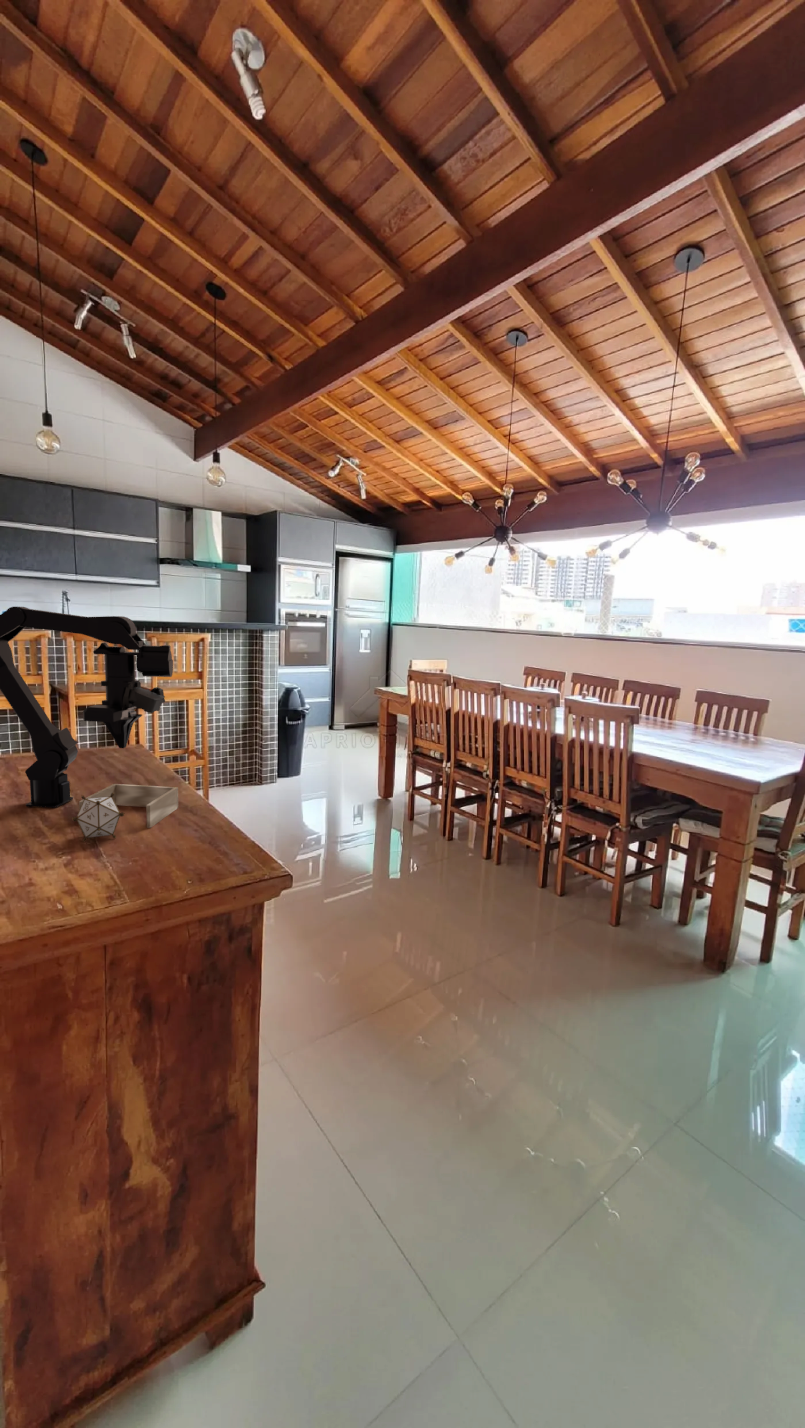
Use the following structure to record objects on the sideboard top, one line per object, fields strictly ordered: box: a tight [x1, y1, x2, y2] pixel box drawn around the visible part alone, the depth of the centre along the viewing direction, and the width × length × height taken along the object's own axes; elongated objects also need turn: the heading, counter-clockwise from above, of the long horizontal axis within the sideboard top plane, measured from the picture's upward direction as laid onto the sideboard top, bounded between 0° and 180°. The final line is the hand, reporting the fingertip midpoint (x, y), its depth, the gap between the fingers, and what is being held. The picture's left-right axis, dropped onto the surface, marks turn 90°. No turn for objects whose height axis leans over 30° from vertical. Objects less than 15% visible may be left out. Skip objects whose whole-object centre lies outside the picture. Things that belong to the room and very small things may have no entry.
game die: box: [71, 792, 126, 843], centre depth 106 cm, size 9×8×10 cm
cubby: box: [78, 783, 179, 829], centre depth 119 cm, size 14×13×4 cm
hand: (122, 748), depth 125 cm, fingers closed
